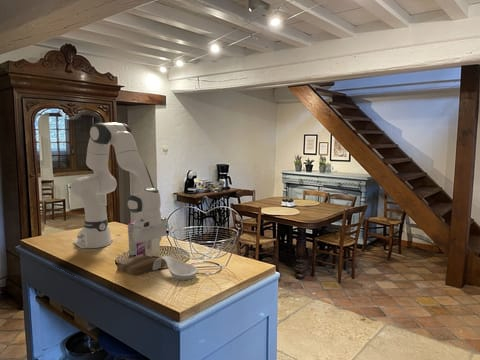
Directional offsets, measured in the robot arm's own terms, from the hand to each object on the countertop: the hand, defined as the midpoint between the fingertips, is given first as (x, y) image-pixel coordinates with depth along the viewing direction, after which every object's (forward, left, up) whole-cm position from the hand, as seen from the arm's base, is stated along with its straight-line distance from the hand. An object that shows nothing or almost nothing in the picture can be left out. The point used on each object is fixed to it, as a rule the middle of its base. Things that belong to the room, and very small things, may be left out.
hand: (152, 247), depth 181 cm
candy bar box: (-12, 0, -5) cm, 13 cm away
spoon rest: (+27, -10, -5) cm, 29 cm away
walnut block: (+8, -14, -5) cm, 17 cm away
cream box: (0, 0, -3) cm, 3 cm away
